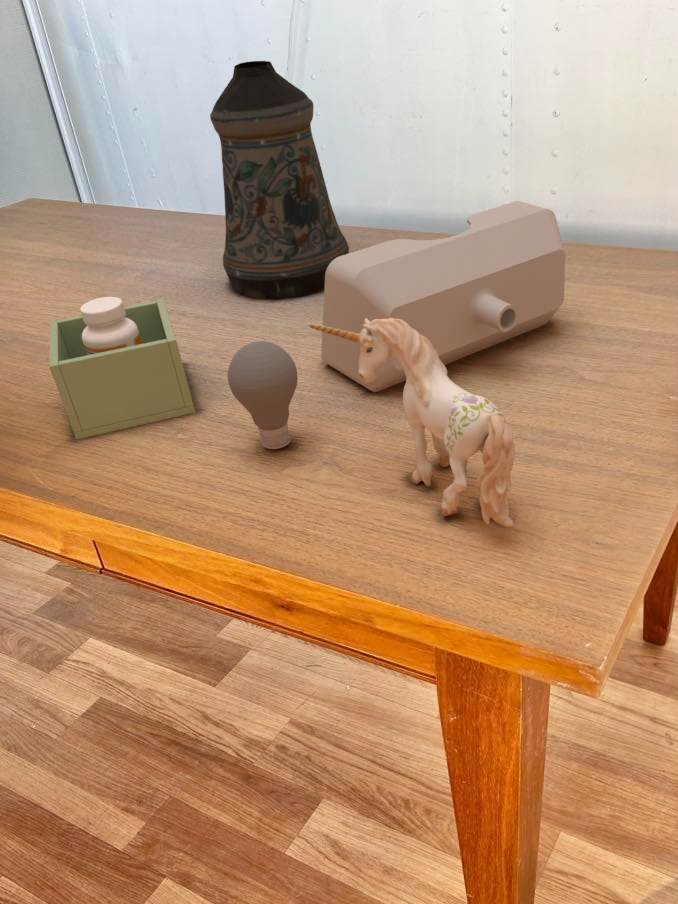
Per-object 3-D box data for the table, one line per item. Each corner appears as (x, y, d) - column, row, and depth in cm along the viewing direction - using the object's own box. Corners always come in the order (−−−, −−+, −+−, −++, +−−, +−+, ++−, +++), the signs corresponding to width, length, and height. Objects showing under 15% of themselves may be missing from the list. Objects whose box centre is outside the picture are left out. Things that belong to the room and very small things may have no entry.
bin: (76, 440, 82) (49, 366, 77) (74, 390, 91) (49, 321, 86) (195, 412, 84) (176, 339, 79) (181, 366, 93) (163, 298, 88)
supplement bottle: (131, 378, 90) (103, 290, 84) (166, 388, 87) (141, 297, 81) (91, 401, 86) (60, 310, 80) (127, 412, 84) (97, 319, 78)
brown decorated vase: (286, 310, 103) (245, 82, 88) (189, 283, 114) (138, 75, 99) (376, 267, 113) (354, 54, 98) (279, 245, 124) (245, 50, 109)
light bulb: (232, 459, 76) (207, 357, 70) (263, 426, 81) (242, 327, 75) (291, 467, 74) (271, 362, 68) (319, 433, 79) (303, 332, 73)
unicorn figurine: (387, 434, 78) (371, 293, 70) (562, 508, 66) (568, 350, 58) (329, 468, 74) (306, 323, 66) (504, 553, 62) (502, 391, 54)
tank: (407, 421, 79) (394, 292, 72) (320, 366, 90) (302, 249, 83) (598, 339, 90) (605, 219, 82) (500, 299, 101) (498, 190, 93)
